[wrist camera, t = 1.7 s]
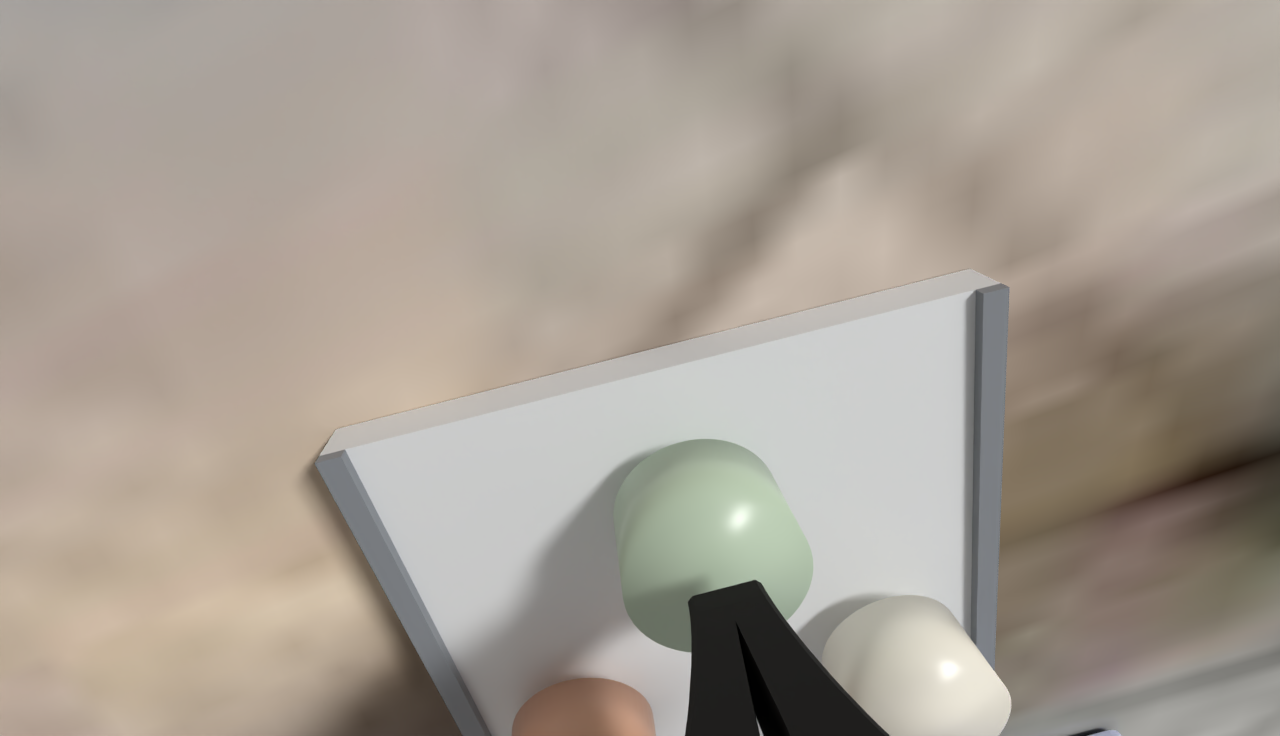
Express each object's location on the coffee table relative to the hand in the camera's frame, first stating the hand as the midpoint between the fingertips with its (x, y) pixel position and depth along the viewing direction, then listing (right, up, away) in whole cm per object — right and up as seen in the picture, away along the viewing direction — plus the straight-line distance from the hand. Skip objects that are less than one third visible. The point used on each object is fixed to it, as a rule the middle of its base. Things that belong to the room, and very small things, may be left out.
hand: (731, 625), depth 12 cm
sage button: (0, +1, +3) cm, 4 cm away
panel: (0, -1, +6) cm, 7 cm away
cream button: (+5, -3, +6) cm, 9 cm away
